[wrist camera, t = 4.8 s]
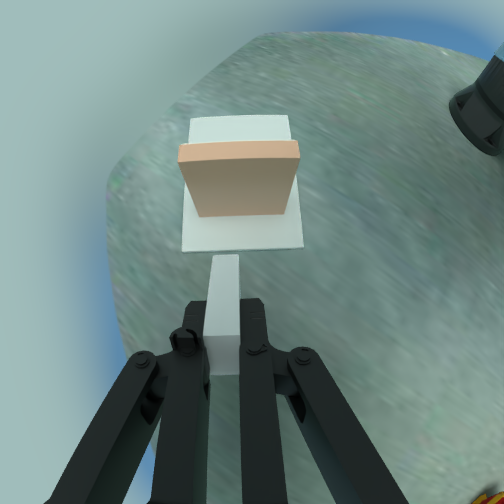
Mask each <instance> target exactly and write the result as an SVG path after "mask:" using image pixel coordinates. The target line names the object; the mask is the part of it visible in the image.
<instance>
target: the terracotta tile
mask: <svg viewBox="0 0 504 504" xmlns="http://www.w3.org/2000/svg"><path fill="white" fill-rule="evenodd" d="M299 160H300V153H299V147H298V141H295V140H235V141H215V142H199V143H187V144H182V145H179V154H178V164H179V167H180V170H181V172H182V175H183V177H184V180H185V183H186V185H187V188H188V190H189V193H190V195H191V198H192V200H193V203H194V205H195V208H196V210H197V213H198V215H199V217H219V216H245V215H281V214H284V212H285V209H286V206H287V202H288V199H289V195H290V192H291V188H292V185H293V181H294V178H295V174H296V171H297V167H298V164H299Z"/></svg>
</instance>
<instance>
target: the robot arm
mask: <svg viewBox="0 0 504 504" xmlns="http://www.w3.org/2000/svg"><path fill="white" fill-rule="evenodd" d="M494 53H495V55H494V56H493V58H492V59H491V61H490V62H489V63H488V65H487V66H486V68H485V69H484V70H483V72H482V73H481V74H480V76H479V77H478V78H477V80H476V81H475V82H474V83H473V84H472V85H470V86H468V87H466V88H465V89H463V90H461V91H459V92H458V93H456V94H455V95H454V97H453V98H452V99H451V101H450V104H449V106H450V111H451V114H452V116H453V118H454V120H455V122H456V124H457V125H458V127H459V128H460V129H461V131H462V132H463V133H464V134H465V136H466V137H467V138H468V139H469V140H470V141H471V142H472V143H473V144H474V145H475V146H476V147H478V148H479V149H480V150H482V151H483V152H485V153H487V154H490V155H497V154H499V153H500V152H501V151H502V150H503V149H504V43H503V44H502V45H501V46H500V47H499V49H498V50H497V51H495V52H494ZM169 338H170V341H171V345H172V348H173V351H171V352H169V353H167V354H163V355H159V356H155V355H154V354H153V353H151V352H149V351H139V352H136V353H135V354H133V355H132V356H131V357H130V358H129V360H128V361H127V363H126V365H125V366H124V368H123V369H122V371H121V373H120V374H119V376H118V378H117V379H116V381H115V382H114V384H113V386H112V388H111V389H110V391H109V392H108V394H107V396H106V397H105V399H104V401H103V402H102V404H101V406H100V408H99V409H98V411H97V413H96V414H95V416H94V418H93V420H92V421H91V423H90V425H89V427H88V428H87V430H86V432H85V434H84V436H83V437H82V439H81V441H80V442H79V444H78V446H77V448H76V450H75V452H74V454H73V455H72V457H71V459H70V461H69V463H68V464H67V467H66V468H65V470H64V472H63V474H62V476H61V478H60V480H59V482H58V484H57V485H56V487H55V490H54V491H53V493H52V495H51V497H50V499H49V500H47V501H46V502H45V503H44V504H122V503H123V500H124V498H125V496H126V493H127V491H128V489H129V487H130V484H131V482H132V480H133V478H134V475H135V473H136V471H137V468H138V466H139V464H140V462H141V459H142V457H143V455H144V453H145V451H146V448H147V446H148V444H149V442H150V440H151V437H152V435H153V433H154V431H155V428H156V426H157V424H158V422H159V420H160V417H161V423H160V429H159V436H158V443H157V450H156V458H155V467H154V474H153V483H152V492H151V498H150V501H149V502H148V503H147V504H206V488H207V452H208V426H209V405H210V386H211V384H210V380H209V374H211V375H239V384H240V433H241V470H242V500H243V504H288V501H287V492H286V483H285V474H284V464H283V455H282V446H281V437H280V429H279V420H278V411H277V402H276V394H275V393H277V394H282V395H285V398H286V400H287V402H288V404H289V407H290V409H291V411H292V413H293V415H294V417H295V420H296V422H297V424H298V426H299V428H300V430H301V432H302V434H303V437H304V439H305V441H306V443H307V445H308V447H309V449H310V451H311V453H312V455H313V458H314V460H315V462H316V464H317V466H318V468H319V470H320V472H321V474H322V476H323V478H324V480H325V482H326V484H327V486H328V488H329V490H330V492H331V494H332V496H333V498H334V500H335V502H336V504H409V503H408V501H407V500H406V498H405V496H404V495H403V493H402V491H401V490H400V488H399V486H398V485H397V483H396V482H395V480H394V478H393V477H392V475H391V473H390V472H389V470H388V468H387V467H386V465H385V463H384V462H383V460H382V458H381V457H380V455H379V453H378V452H377V450H376V449H375V447H374V445H373V444H372V442H371V440H370V439H369V437H368V435H367V434H366V432H365V430H364V429H363V427H362V426H361V424H360V422H359V421H358V419H357V417H356V416H355V414H354V412H353V411H352V409H351V408H350V406H349V404H348V403H347V401H346V399H345V398H344V396H343V394H342V393H341V391H340V389H339V388H338V386H337V385H336V383H335V381H334V380H333V378H332V376H331V375H330V373H329V371H328V370H327V368H326V367H325V365H324V363H323V362H322V360H321V358H320V357H319V355H318V354H317V353H316V352H315V350H313V349H311V348H308V347H297V348H295V349H293V350H291V352H284V351H280V350H277V349H275V348H274V347H273V346H271V345H270V343H269V341H268V336H267V327H266V319H265V310H264V304H263V303H262V301H261V300H260V299H259V298H252V299H241V289H240V271H239V254H230V255H213V260H212V267H211V274H210V282H209V289H208V297H207V301H191V302H190V303H189V304H188V305H187V307H186V309H185V314H184V319H183V324H182V327H181V328H178V329H176V330H174V331H173V332H172V333H171V335H170V337H169ZM161 415H162V416H161Z"/></svg>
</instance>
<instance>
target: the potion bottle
mask: <svg viewBox="0 0 504 504" xmlns="http://www.w3.org/2000/svg"><path fill="white" fill-rule="evenodd" d="M472 504H504V492H499V493H498V494H496V495H493V496H491V497H489V498H487V496H486V494H484V495H481V496H479V497H478V498H477V499H476V500H475V501H474V502H473V503H472Z"/></svg>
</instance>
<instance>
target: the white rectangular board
mask: <svg viewBox="0 0 504 504" xmlns="http://www.w3.org/2000/svg"><path fill="white" fill-rule="evenodd" d="M235 140H291V134H290V128H289V121H288V115H238V116H217V117H203V118H191V122H190V131H189V141H188V143H199V142H215V141H235ZM303 248H304V243H303V233H302V223H301V213H300V204H299V196H298V187H297V179H296V174H295V178H294V181H293V185H292V188H291V192H290V195H289V199H288V202H287V206H286V209H285V212H284V214H281V215H245V216H219V217H199V215H198V213H197V210H196V208H195V205H194V203H193V200H192V198H191V195H190V193H189V190H188V188H187V185H186V183H185V192H184V210H183V233H182V252H183V253H196V252H224V251H252V250H281V249H303Z"/></svg>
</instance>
